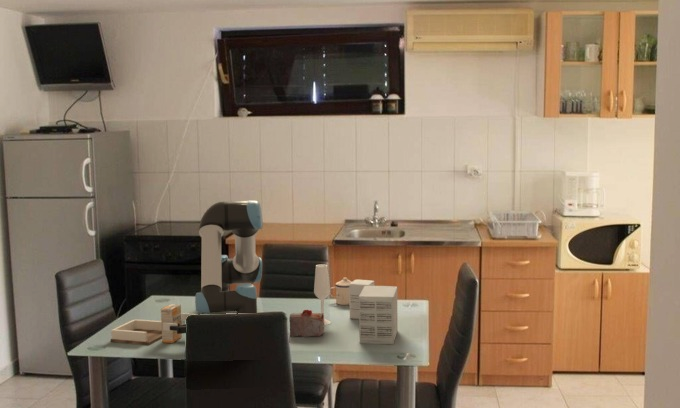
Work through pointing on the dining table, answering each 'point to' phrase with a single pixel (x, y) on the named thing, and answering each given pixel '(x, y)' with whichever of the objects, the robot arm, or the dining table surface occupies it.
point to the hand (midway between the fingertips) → (172, 321)
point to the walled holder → (138, 332)
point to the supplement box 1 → (170, 316)
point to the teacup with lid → (342, 291)
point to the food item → (306, 324)
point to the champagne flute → (322, 286)
